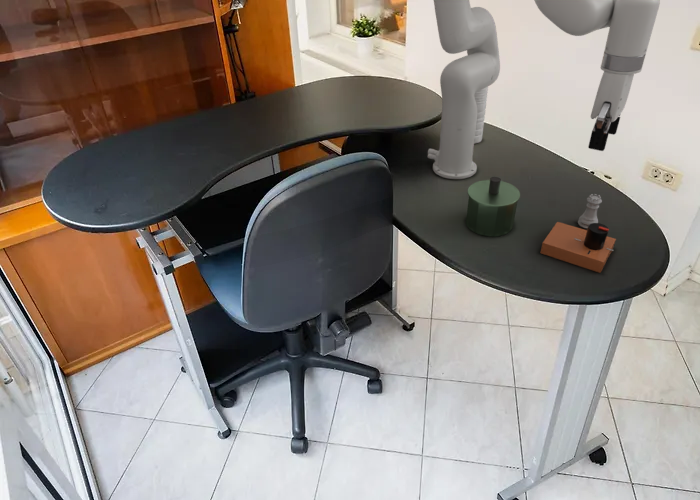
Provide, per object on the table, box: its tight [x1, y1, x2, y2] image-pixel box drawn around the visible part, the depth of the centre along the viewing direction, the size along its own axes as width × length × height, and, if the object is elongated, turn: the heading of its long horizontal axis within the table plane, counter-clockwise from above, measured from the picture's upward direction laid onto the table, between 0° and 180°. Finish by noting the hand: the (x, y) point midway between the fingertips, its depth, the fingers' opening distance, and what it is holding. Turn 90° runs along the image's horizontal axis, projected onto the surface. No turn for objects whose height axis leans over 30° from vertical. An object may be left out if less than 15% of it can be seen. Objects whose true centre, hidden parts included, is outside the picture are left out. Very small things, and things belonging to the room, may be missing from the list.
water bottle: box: [474, 86, 489, 145], centre depth 156 cm, size 9×6×25 cm
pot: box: [465, 196, 519, 238], centre depth 122 cm, size 11×11×8 cm
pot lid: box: [467, 176, 521, 207], centre depth 118 cm, size 12×12×5 cm
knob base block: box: [540, 221, 617, 274], centre depth 113 cm, size 14×10×3 cm
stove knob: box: [584, 222, 610, 250], centre depth 109 cm, size 4×4×5 cm
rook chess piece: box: [577, 193, 603, 230], centre depth 120 cm, size 4×4×8 cm
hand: (602, 140), depth 111 cm, fingers open, 9 cm apart
